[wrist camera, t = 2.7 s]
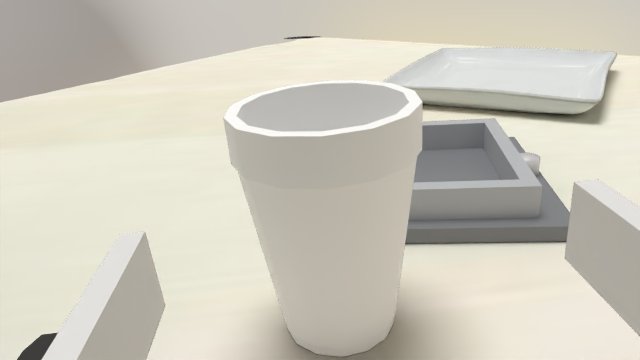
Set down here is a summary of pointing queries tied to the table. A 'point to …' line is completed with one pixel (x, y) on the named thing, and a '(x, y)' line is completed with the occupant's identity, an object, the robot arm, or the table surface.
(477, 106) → the square plate
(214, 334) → the table surface
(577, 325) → the table surface
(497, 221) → the tray
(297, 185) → the foam cup
